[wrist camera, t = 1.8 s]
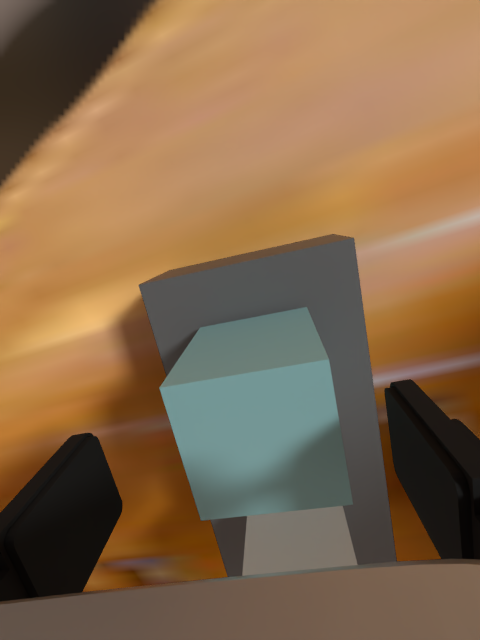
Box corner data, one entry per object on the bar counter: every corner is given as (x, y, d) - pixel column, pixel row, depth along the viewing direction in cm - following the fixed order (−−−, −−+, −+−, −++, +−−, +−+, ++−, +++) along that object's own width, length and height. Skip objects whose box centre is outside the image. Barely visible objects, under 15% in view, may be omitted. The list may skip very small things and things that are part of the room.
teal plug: (297, 284, 20) (329, 359, 9) (311, 360, 22) (353, 504, 11) (217, 301, 21) (158, 387, 10) (235, 373, 22) (200, 520, 11)
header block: (333, 234, 19) (408, 248, 9) (374, 511, 24) (452, 732, 14) (169, 270, 21) (64, 320, 10) (240, 525, 26) (219, 734, 15)
